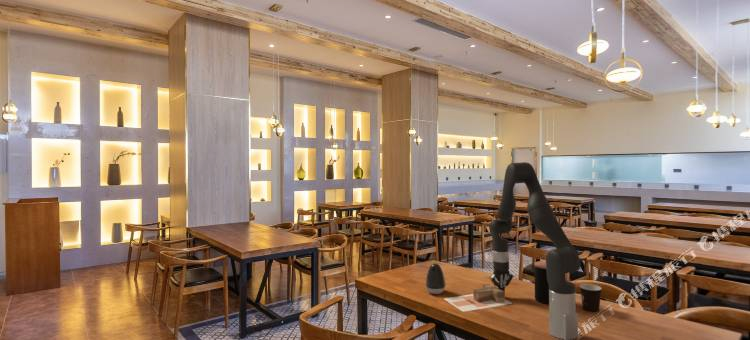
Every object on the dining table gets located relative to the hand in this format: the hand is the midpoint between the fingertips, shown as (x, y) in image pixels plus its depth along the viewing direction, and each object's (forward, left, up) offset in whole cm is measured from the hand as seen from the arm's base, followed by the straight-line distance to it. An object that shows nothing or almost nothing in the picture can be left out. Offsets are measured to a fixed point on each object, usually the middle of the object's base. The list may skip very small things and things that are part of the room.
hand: (501, 294), depth 192 cm
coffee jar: (-12, -17, -2) cm, 21 cm away
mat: (0, +14, -2) cm, 14 cm away
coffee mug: (-26, -29, -2) cm, 39 cm away
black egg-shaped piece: (+19, +26, -2) cm, 33 cm away
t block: (0, +9, -1) cm, 9 cm away
